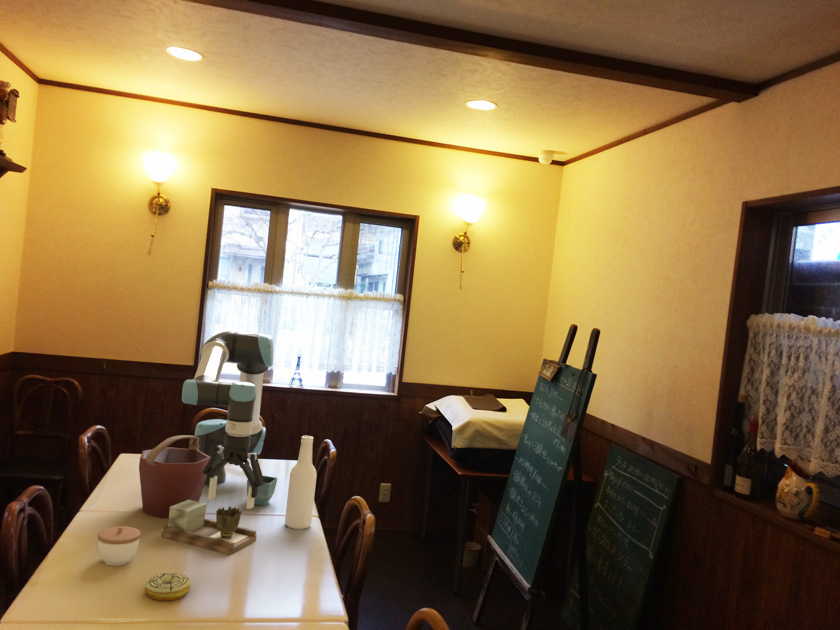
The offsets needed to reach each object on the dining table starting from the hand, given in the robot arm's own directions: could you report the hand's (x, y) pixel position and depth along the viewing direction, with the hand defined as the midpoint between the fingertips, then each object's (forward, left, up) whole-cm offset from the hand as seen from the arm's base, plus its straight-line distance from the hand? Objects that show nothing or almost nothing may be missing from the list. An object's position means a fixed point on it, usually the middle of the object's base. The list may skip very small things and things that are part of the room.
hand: (230, 503), depth 203 cm
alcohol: (-26, +10, -12) cm, 31 cm away
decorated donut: (+36, +7, -13) cm, 39 cm away
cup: (0, 0, -11) cm, 11 cm away
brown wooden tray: (0, -6, -12) cm, 13 cm away
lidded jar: (+28, -16, -12) cm, 34 cm away
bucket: (-13, -31, -12) cm, 36 cm away
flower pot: (-38, -12, -12) cm, 42 cm away
